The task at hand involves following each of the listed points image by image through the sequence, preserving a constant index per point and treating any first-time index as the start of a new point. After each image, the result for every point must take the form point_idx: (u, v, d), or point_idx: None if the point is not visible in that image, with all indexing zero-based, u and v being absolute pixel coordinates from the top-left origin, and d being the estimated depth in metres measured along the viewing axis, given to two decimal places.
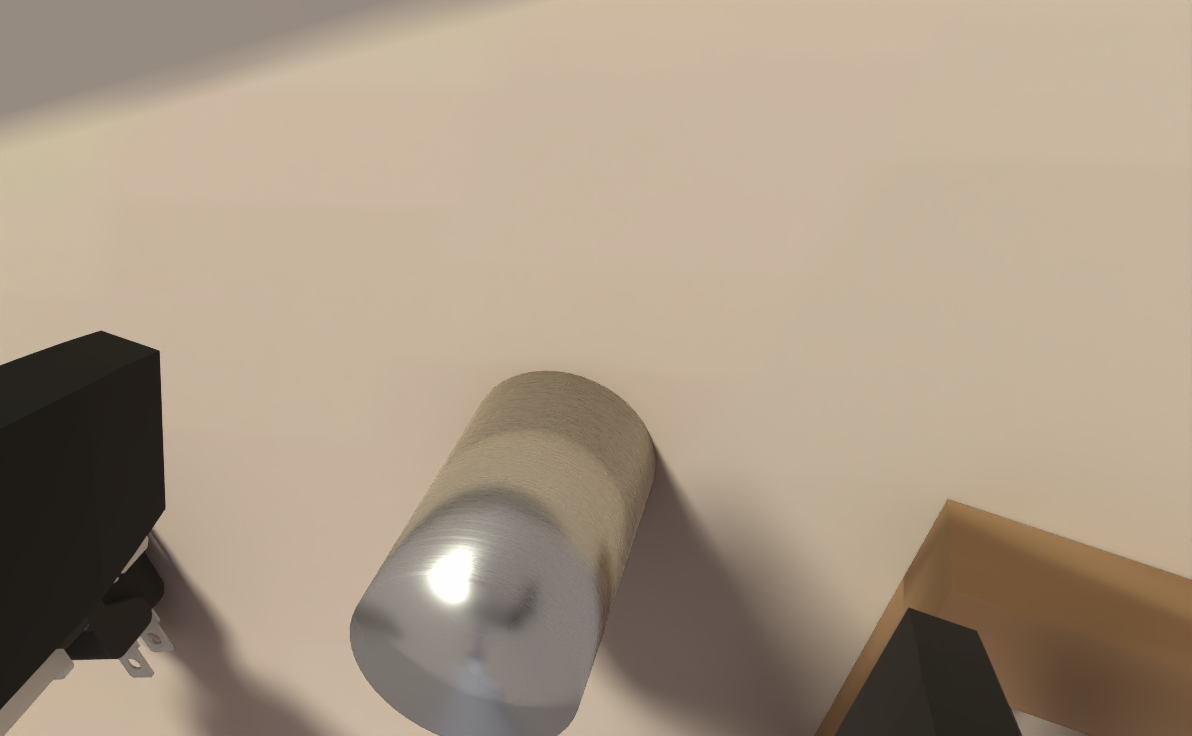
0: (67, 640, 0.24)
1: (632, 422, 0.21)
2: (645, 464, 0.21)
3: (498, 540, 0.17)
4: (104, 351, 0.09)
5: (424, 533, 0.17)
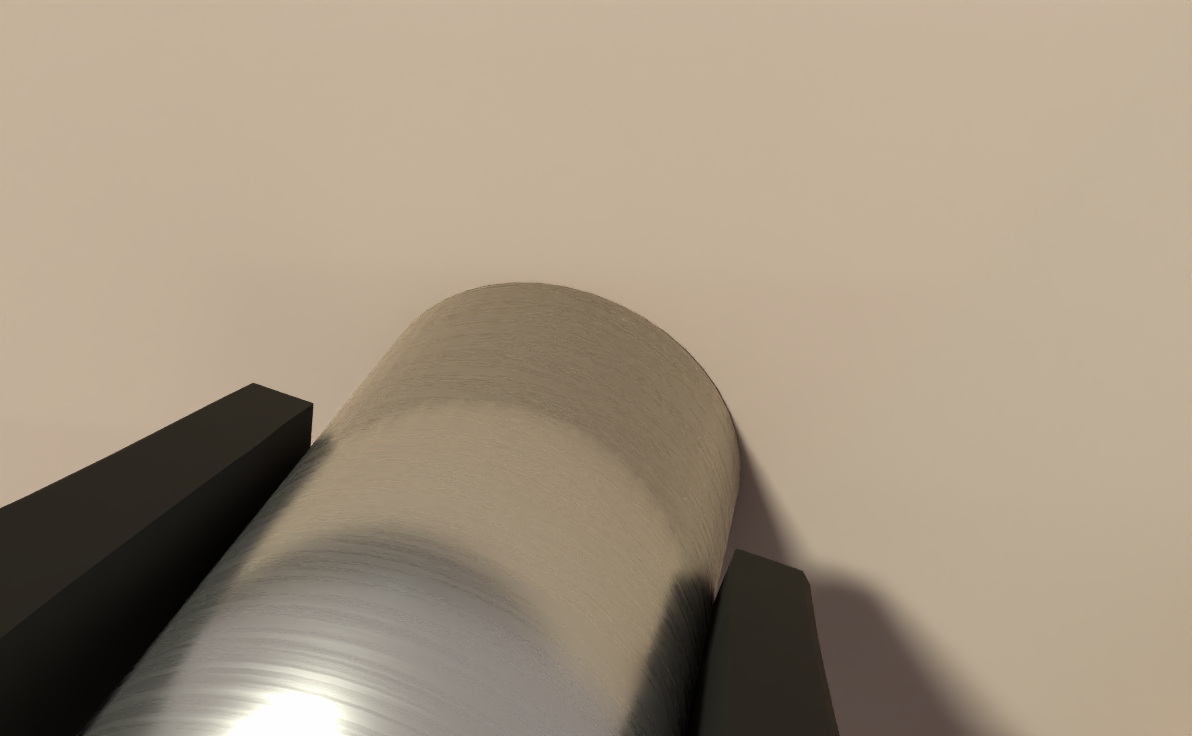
0: None
1: (698, 389, 0.10)
2: (725, 478, 0.10)
3: (360, 703, 0.06)
4: (263, 407, 0.09)
5: (166, 671, 0.06)
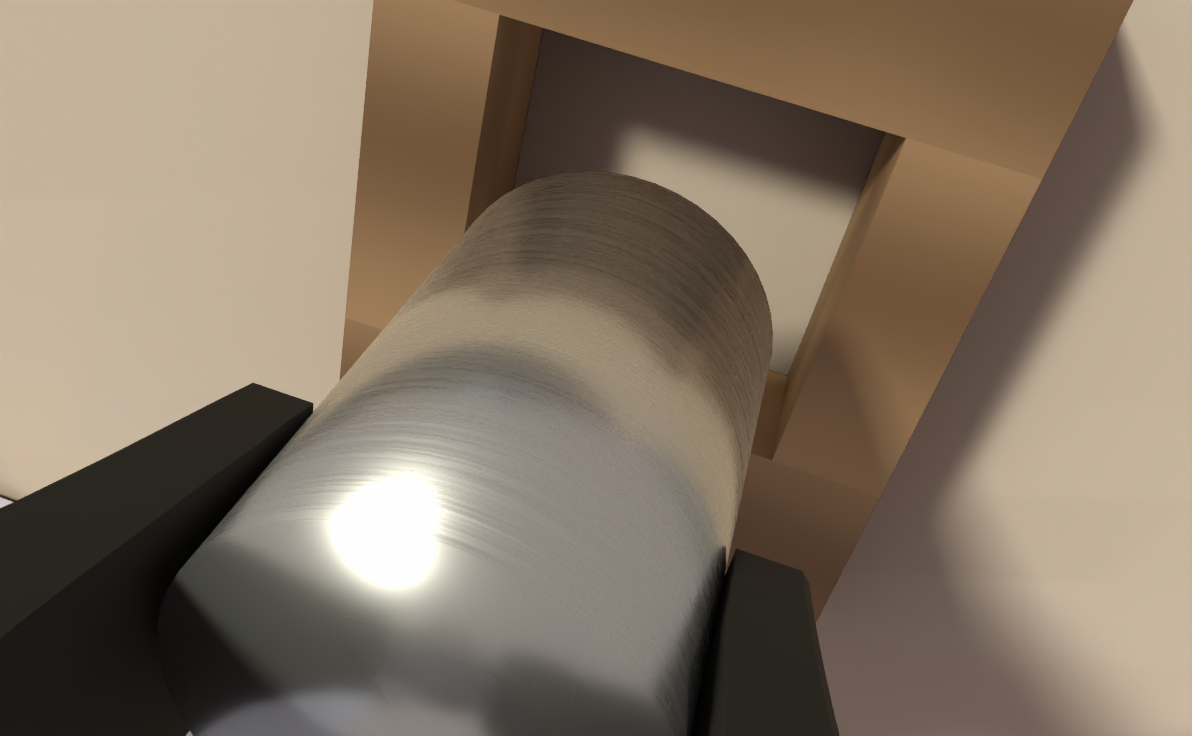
0: None
1: (729, 251, 0.11)
2: (758, 327, 0.11)
3: (467, 441, 0.07)
4: (262, 407, 0.09)
5: (309, 440, 0.08)
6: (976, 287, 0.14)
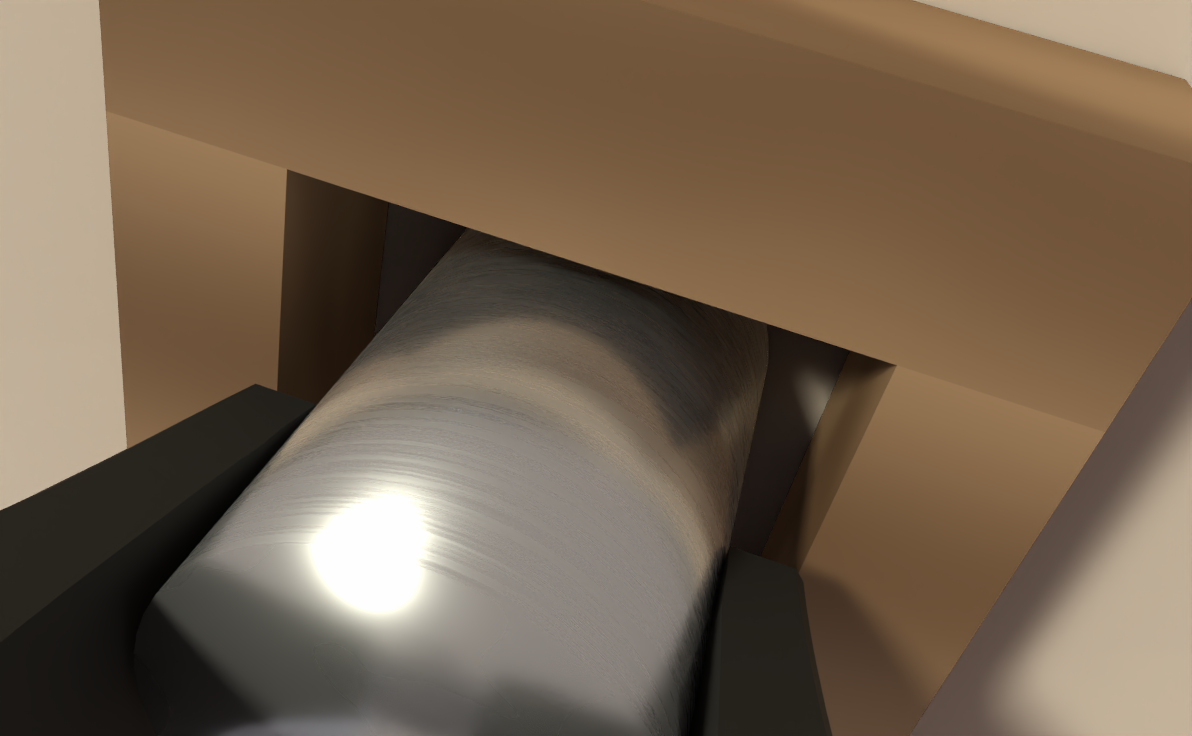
0: None
1: None
2: (754, 339, 0.11)
3: (453, 459, 0.07)
4: (264, 408, 0.09)
5: (292, 458, 0.08)
6: (1001, 566, 0.09)
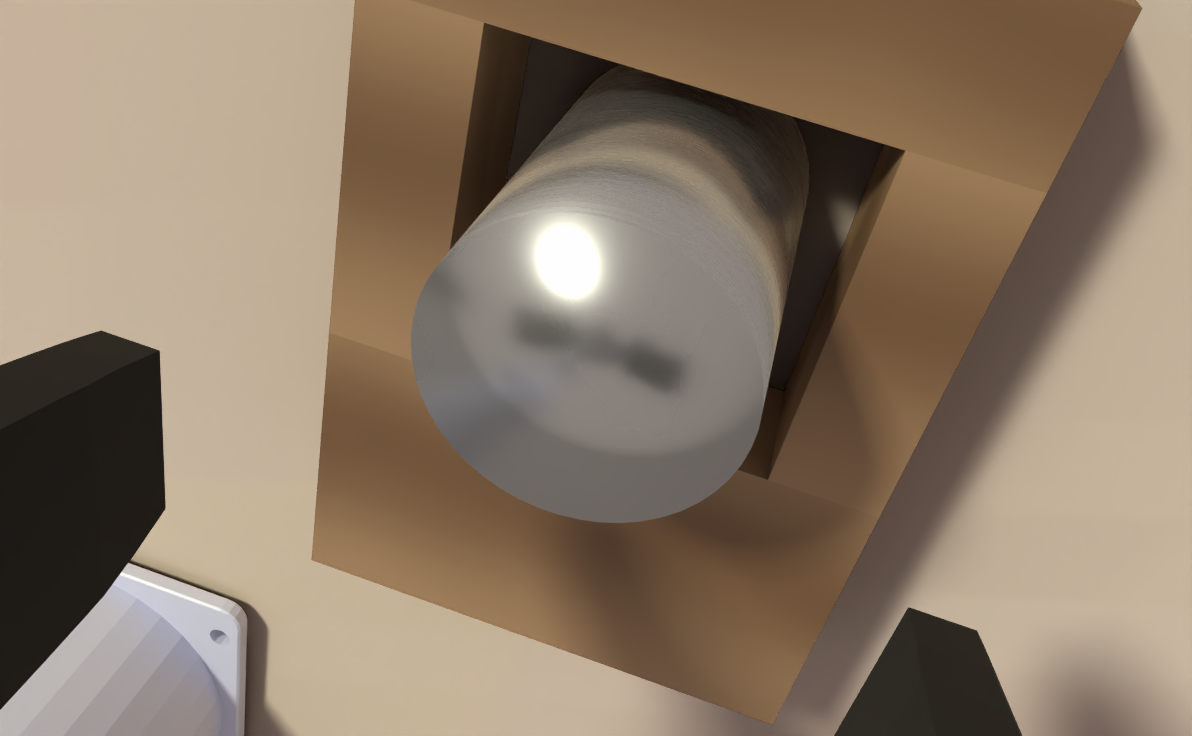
0: None
1: None
2: (801, 163, 0.15)
3: (624, 180, 0.11)
4: (104, 353, 0.09)
5: (512, 190, 0.12)
6: (978, 304, 0.13)
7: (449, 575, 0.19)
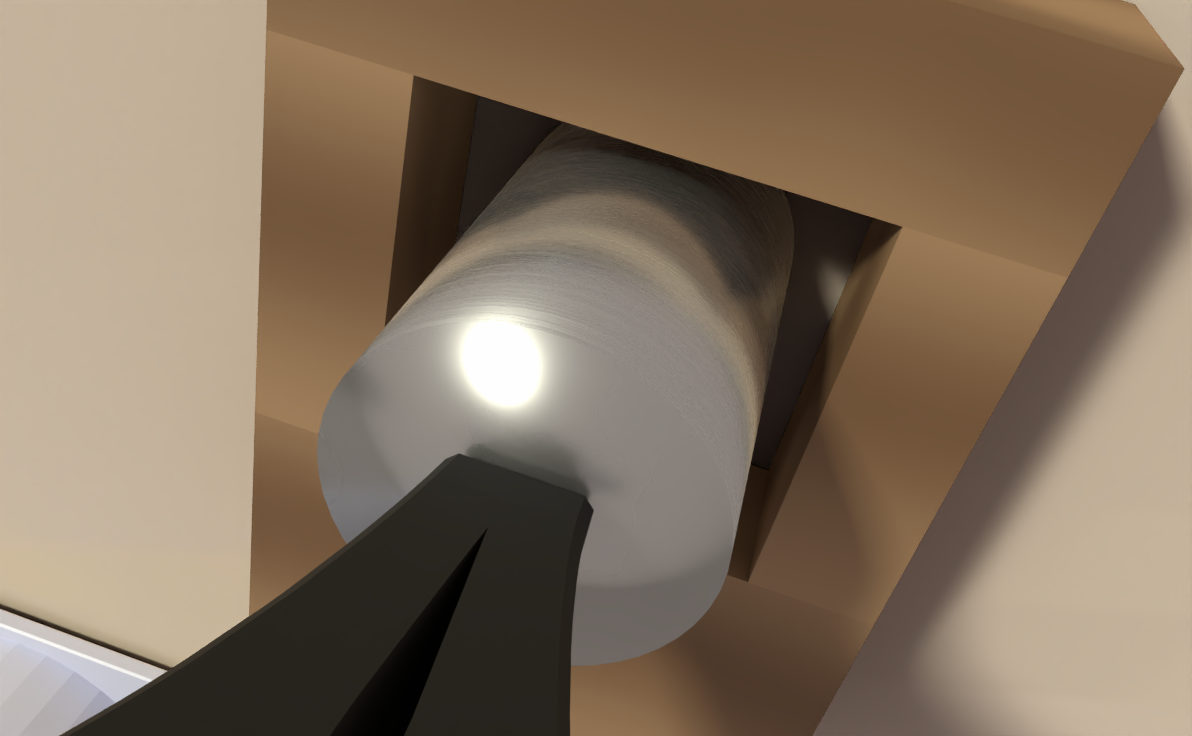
0: None
1: None
2: (784, 228, 0.13)
3: (568, 275, 0.09)
4: (478, 481, 0.09)
5: (438, 282, 0.10)
6: (987, 399, 0.12)
7: None
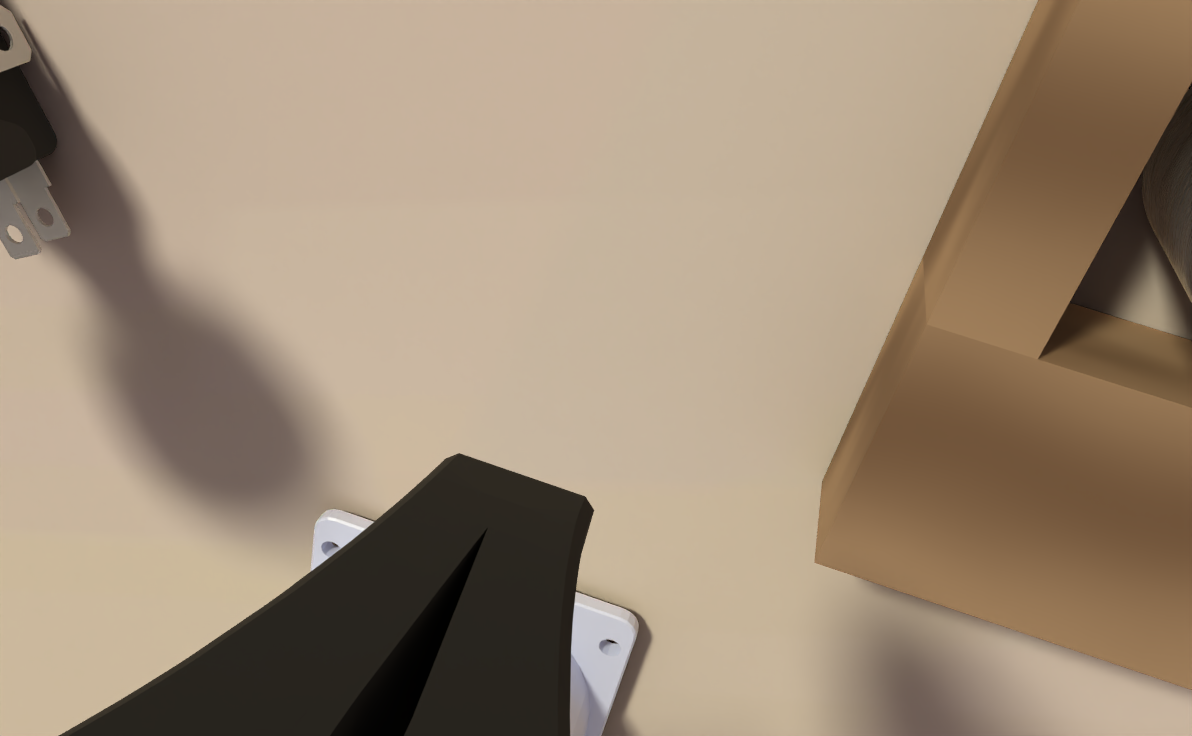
0: None
1: None
2: None
3: None
4: (478, 481, 0.09)
5: None
6: None
7: (975, 576, 0.18)
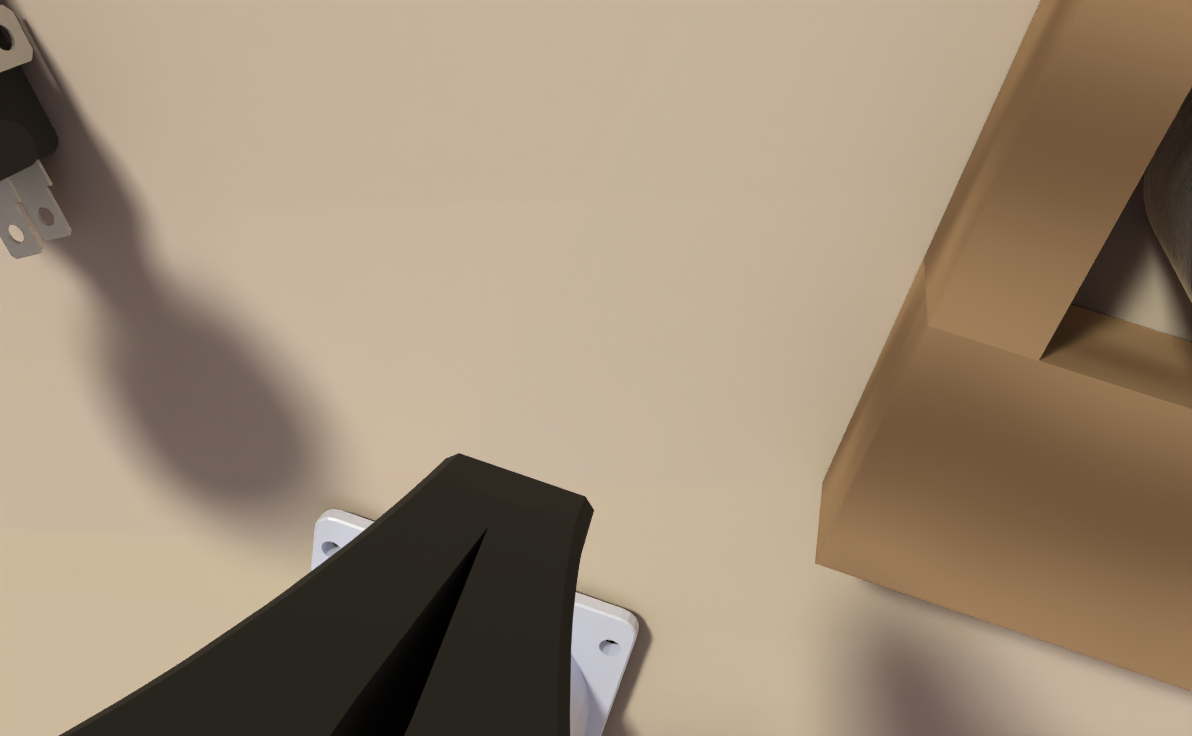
0: None
1: None
2: None
3: None
4: (478, 481, 0.09)
5: None
6: None
7: (976, 577, 0.18)
